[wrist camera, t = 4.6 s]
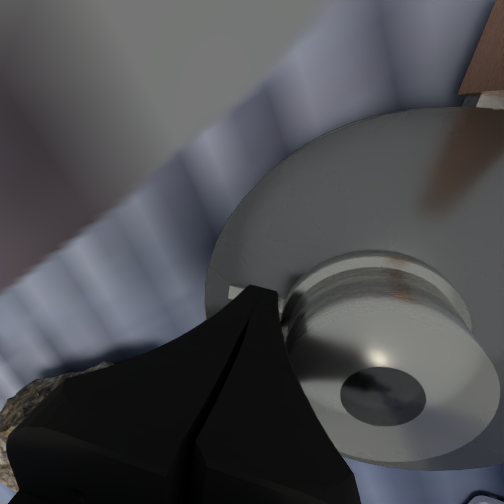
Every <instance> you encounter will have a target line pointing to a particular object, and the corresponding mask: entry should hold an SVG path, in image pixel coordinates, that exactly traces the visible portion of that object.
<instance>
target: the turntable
mask: <svg viewBox="0 0 504 504" xmlns="http://www.w3.org/2000/svg"><path fill="white" fill-rule="evenodd" d="M457 95H464V96H466V97H465V99H464V102H463V104H462V106H461V107H432V108H414V109H408V110H402V111H396V112H390V113H384V114H380V115H376V116H373V117H370V118H366V119H363V120H360V121H356V122H353V123H350V124H347V125H345V126H342V127H340V128H338V129H336V130H333V131H331V132H329V133H327V134H324V135H322V136H320V137H318V138H316V139H314V140H313V141H311V142H309V143H308V144H306V145H304V146H303V147H301V148H300V149H298V150H296V151H295V152H293V153H291V154H290V155H289V156H288V157H286V158H285V159H284V160H283V161H281V162H280V163H279V164H278V165H276V166H275V167H274V168H273V169H271V170H270V171H269V172H268V173H267V174H266V175H265V176H264V177H263V178H262V179H261V180H260V181H259V182H258V184H257V185H256V186H255V187H254V188H253V189H252V190H251V191H250V192H249V193H248V194H247V195H246V196H245V197H244V198H243V199H242V201H241V202H240V204H239V205H238V206H237V208H236V209H235V211H234V212H233V213H232V215H231V216H230V218H229V219H228V220H227V222H226V224H225V226H224V228H223V230H222V232H221V234H220V236H219V238H218V240H217V242H216V245H215V248H214V251H213V254H212V256H211V259H210V262H209V267H208V273H207V278H206V284H205V309H206V318H207V319H208V318H210V317H211V316H213V315H214V314H215V313H217V312H218V311H219V310H221V309H222V308H223V307H224V306H226V305H227V304H228V303H229V302H230V301H232V300H233V299H234V298H235V297H236V296H237V295H238V294H239V293H240V292H242V291H243V290H244V289H245V288H246V286H248V285H250V284H251V285H255V286H259V287H263V288H266V289H270V290H274V291H277V293H278V294H279V296H278V309H279V317H280V321H281V315H282V310H283V306H284V303H285V300H286V297H287V295H288V293H289V291H290V290H291V288H292V287H293V286H294V284H295V283H296V282H297V281H298V279H299V278H300V277H301V276H302V275H303V274H305V273H306V272H307V271H308V270H310V269H311V268H312V267H314V266H316V265H317V264H319V263H321V262H323V261H325V260H327V259H330V258H332V257H335V256H338V255H341V254H344V253H349V252H355V251H364V250H383V251H391V252H397V253H401V254H404V255H408V256H411V257H414V258H416V259H418V260H421V261H423V262H425V263H426V264H428V265H430V266H432V267H433V268H435V269H436V270H437V271H438V272H440V273H441V274H442V275H443V276H444V277H445V278H446V279H447V280H448V281H449V282H450V283H451V284H452V286H453V287H454V289H455V290H456V291H457V293H458V294H459V295H460V297H461V298H462V300H463V301H464V303H465V305H466V307H467V310H468V312H469V315H470V319H471V325H472V334H473V336H474V337H475V339H476V340H477V342H478V343H479V345H480V346H481V347H482V349H483V350H484V352H485V353H486V355H487V356H488V358H489V359H490V361H491V362H492V364H493V366H494V368H495V370H496V372H497V375H498V379H499V383H500V400H499V404H498V408H497V410H496V413H495V415H494V417H493V419H492V420H491V422H490V423H489V425H488V426H487V427H486V428H485V429H484V430H483V431H482V432H481V433H480V434H479V435H478V436H477V437H475V438H474V439H473V440H472V441H470V442H469V443H467V444H465V445H464V446H462V447H460V448H458V449H456V450H453V451H451V452H449V453H446V454H443V455H440V456H437V457H433V458H428V459H423V460H417V461H406V462H386V461H375V460H369V459H363V458H359V457H355V456H351V455H348V454H345V453H342V452H339V451H338V452H339V453H340V455H341V456H343V457H347V458H350V459H354V460H357V461H361V462H365V463H370V464H375V465H380V466H385V467H392V468H400V469H409V470H430V471H440V470H463V469H472V468H481V467H488V466H493V465H498V464H504V0H496V1H495V4H494V6H493V9H492V11H491V14H490V16H489V19H488V21H487V23H486V26H485V28H484V31H483V33H482V36H481V38H480V40H479V43H478V45H477V48H476V50H475V53H474V55H473V58H472V60H471V62H470V65H469V67H468V70H467V72H466V75H465V77H464V80H463V82H462V84H461V87H460V89H459V92H458V94H457Z"/></svg>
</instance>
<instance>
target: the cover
mask: <svg viewBox="0 0 504 504" xmlns="http://www.w3.org/2000/svg"><path fill="white" fill-rule="evenodd" d="M280 323H281V327H282V332H283V336H284V340H285V344H286V347H287V350H288V354H289V357H290V359H291V362H292V365H293V367H294V370H295V373H296V375H297V377H298V380H299V382H300V384H301V386H302V389H303V391H304V393H305V395H306V397H307V399H308V400H309V402H310V404H311V406H312V408H313V410H314V412H315V414H316V416H317V418H318V419H319V421H320V423H321V424H322V426H323V428H324V429H325V431H326V433H327V435H328V436H329V438H330V439H331V441H332V442H333V444H334V446H335V447H336V449H337V450H338V451H339V452H342V453H345V454H348V455H351V456H355V457H359V458H363V459H369V460H375V461H386V462H406V461H417V460H423V459H428V458H433V457H437V456H440V455H443V454H446V453H449V452H451V451H453V450H456V449H458V448H460V447H462V446H464V445H465V444H467V443H469V442H470V441H472V440H473V439H474V438H475V437H477V436H478V435H479V434H480V433H481V432H482V431H483V430H484V429H485V428H486V427H487V426H488V425H489V423H490V422H491V420H492V419H493V417H494V415H495V413H496V410H497V408H498V404H499V400H500V383H499V379H498V375H497V372H496V370H495V368H494V366H493V364H492V362H491V361H490V359H489V358H488V356H487V355H486V353H485V352H484V350H483V349H482V347H481V346H480V345H479V343H478V342H477V340H476V339H475V337H474V336H473V334H472V325H471V319H470V315H469V312H468V310H467V307H466V305H465V303H464V301H463V300H462V298H461V297H460V295H459V294H458V293H457V291H456V290H455V289H454V287H453V286H452V284H451V283H450V282H449V281H448V280H447V279H446V278H445V277H444V276H443V275H442V274H441V273H440V272H438V271H437V270H436V269H435V268H433V267H432V266H430V265H428V264H426V263H425V262H423V261H421V260H418V259H416V258H414V257H411V256H408V255H404V254H401V253H397V252H391V251H383V250H364V251H355V252H349V253H344V254H341V255H338V256H335V257H332V258H330V259H327V260H325V261H323V262H321V263H319V264H317V265H316V266H314V267H312V268H311V269H310V270H308V271H307V272H306V273H305V274H303V275H302V276H301V277H300V278H299V279H298V281H297V282H296V283H295V284H294V286H293V287H292V288H291V290H290V291H289V293H288V295H287V297H286V300H285V303H284V306H283V310H282V315H281V321H280Z"/></svg>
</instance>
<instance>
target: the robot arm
mask: <svg viewBox="0 0 504 504" xmlns="http://www.w3.org/2000/svg"><path fill="white" fill-rule="evenodd" d="M278 296H279V294H278V293H277V291H274V290H270V289H266V288H263V287H259V286H255V285H251V284H250V285H248V286H246V288H245V289H244V290H243V291H242V292H240V293H239V294H238V295H237V296H236V297H235V298H234V299H233V300H232V301H230V302H229V303H228V304H227V305H226V306H224V307H223V308H222V309H221V310H219V311H218V312H217V313H215V314H214V315H213V316H211V317H210V318H208V319H207V320H205V321H204V322H203V323H201V324H200V325H198V326H197V327H195V328H193V329H192V330H190V331H188V332H187V333H185V334H183V335H181V336H180V337H178V338H176V339H174V340H172V341H170V342H168V343H166V344H164V345H162V346H160V347H158V348H156V349H154V350H151V351H149V352H147V353H144V354H142V355H139V356H137V357H134V358H132V359H129V360H126V361H123V362H120V363H117V364H115V365H111V366H108V367H105V368H102V369H98V370H95V371H91V372H88V373H84V374H81V375H77V376H74V377H70V378H66V379H65V380H64V381H62V382H61V383H60V384H59V385H58V386H57V387H56V388H55V389H53V390H52V391H51V392H50V393H49V394H48V395H47V396H46V397H45V398H44V399H43V400H42V401H41V402H40V403H39V404H38V405H37V406H36V407H35V408H34V409H33V410H32V411H31V412H30V413H29V414H28V415H27V416H26V417H25V418H24V419H23V420H22V421H21V422H20V423H19V424H18V425H17V426H16V428H15V429H14V430H13V431H12V432H11V433H10V434H9V435H8V438H7V441H6V452H7V458H8V460H9V463H10V466H11V469H12V471H13V474H14V477H15V480H16V482H17V485H18V488H19V491H18V492H17V493H16V494H15V496H14V497H13V498H12V499H11V501H10V502H9V503H8V504H361V501H360V496H359V492H358V488H357V484H356V480H355V477H354V473H353V472H352V471H351V469H350V468H349V466H348V465H347V463H346V462H345V461H344V459H343V458H342V456H341V455H340V453H339V452H338V450H337V449H336V447H335V446H334V444H333V442H332V441H331V439H330V438H329V436H328V435H327V433H326V431H325V429H324V428H323V426H322V424H321V423H320V421H319V419H318V418H317V416H316V414H315V412H314V410H313V408H312V406H311V404H310V402H309V400H308V399H307V397H306V395H305V393H304V391H303V389H302V386H301V384H300V382H299V380H298V377H297V375H296V373H295V370H294V367H293V365H292V362H291V359H290V357H289V354H288V350H287V347H286V344H285V340H284V336H283V332H282V327H281V323H280V317H279V309H278ZM468 504H504V502H503V501H500V500H497V499H494V498H490V497H487V496H476V497H474V498H473V499H472V500H471V501H470V502H469V503H468Z"/></svg>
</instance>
